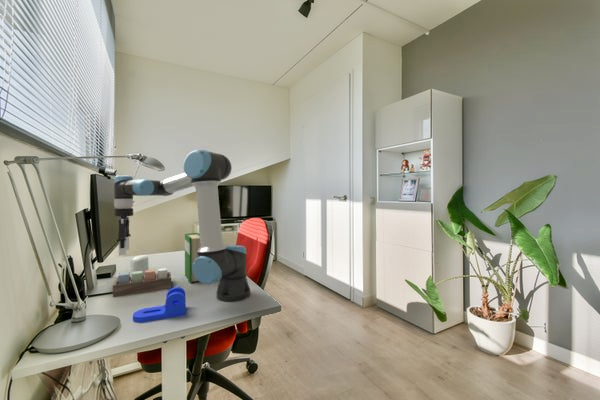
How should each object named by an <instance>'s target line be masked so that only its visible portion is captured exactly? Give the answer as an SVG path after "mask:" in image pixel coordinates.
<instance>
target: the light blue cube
mask: <svg viewBox="0 0 600 400" xmlns="http://www.w3.org/2000/svg"><path fill="white" fill-rule="evenodd" d="M117 277H118V284H123V283H129V281H130V277H131V271H130V272H128V271H127V272H121V273H119V274H118V276H117Z"/></svg>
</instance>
